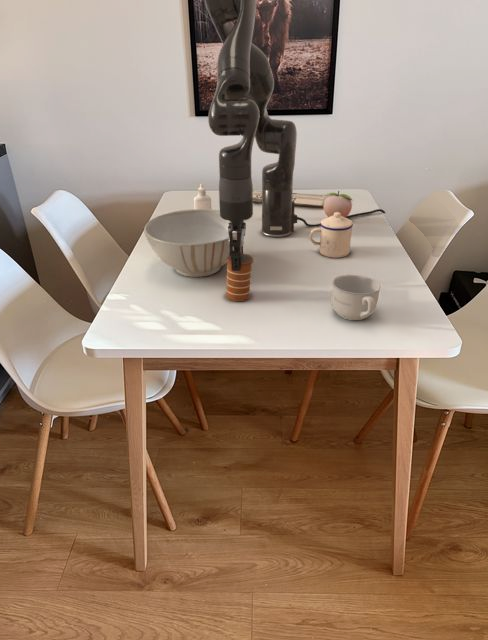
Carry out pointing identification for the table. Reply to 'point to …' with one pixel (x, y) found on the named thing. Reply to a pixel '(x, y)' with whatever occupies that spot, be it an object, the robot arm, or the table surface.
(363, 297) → the teacup
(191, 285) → the table surface
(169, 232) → the decorative bowl
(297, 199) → the newspaper
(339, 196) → the decorative fruit
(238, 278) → the brown striped cylinder
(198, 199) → the eye dropper bottle
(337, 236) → the teacup with lid
